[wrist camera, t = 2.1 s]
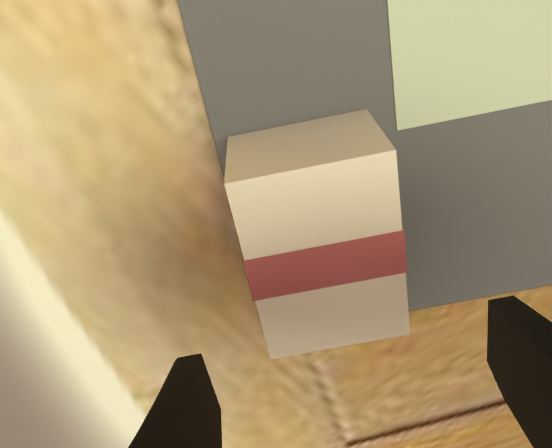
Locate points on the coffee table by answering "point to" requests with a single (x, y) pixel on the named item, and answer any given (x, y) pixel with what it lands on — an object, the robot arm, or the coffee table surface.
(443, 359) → the coffee table surface
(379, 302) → the card deck
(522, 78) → the mat
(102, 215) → the coffee table surface
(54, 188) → the coffee table surface
